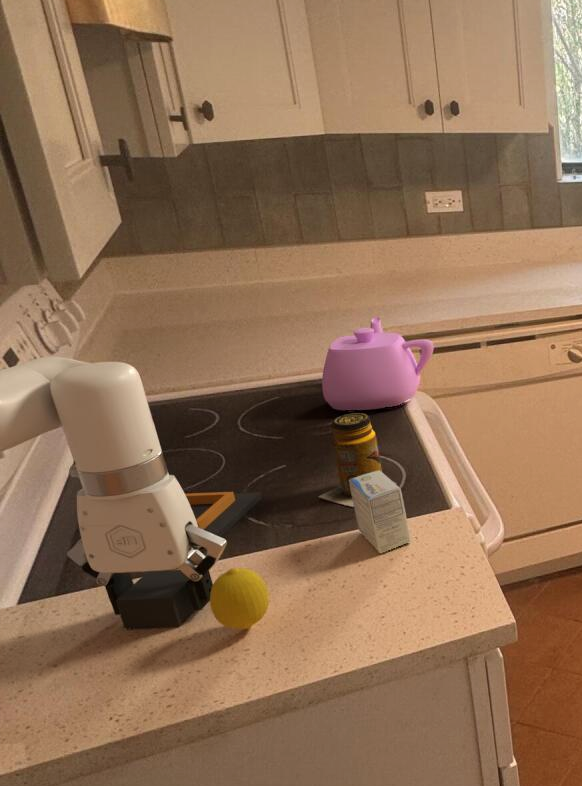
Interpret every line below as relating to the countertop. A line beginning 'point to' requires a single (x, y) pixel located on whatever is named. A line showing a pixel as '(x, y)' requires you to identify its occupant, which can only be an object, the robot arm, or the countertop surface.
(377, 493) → the medicine box
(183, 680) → the countertop surface
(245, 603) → the lemon
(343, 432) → the condiment
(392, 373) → the teapot
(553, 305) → the countertop surface
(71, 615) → the countertop surface
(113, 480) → the robot arm
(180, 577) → the small block
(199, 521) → the base pad
